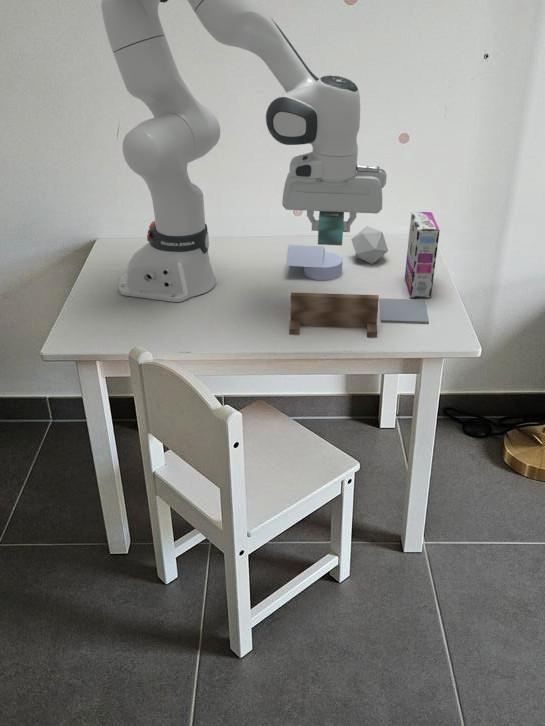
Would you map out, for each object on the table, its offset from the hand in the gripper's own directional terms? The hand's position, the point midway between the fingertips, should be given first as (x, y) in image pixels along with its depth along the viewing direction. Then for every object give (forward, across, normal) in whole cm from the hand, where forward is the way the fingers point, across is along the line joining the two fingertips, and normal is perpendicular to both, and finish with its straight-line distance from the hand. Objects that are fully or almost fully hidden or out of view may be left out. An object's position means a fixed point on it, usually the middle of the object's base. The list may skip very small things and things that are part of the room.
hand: (330, 230), depth 152 cm
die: (+18, -10, -26) cm, 33 cm away
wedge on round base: (+18, +3, -18) cm, 26 cm away
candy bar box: (+18, -21, -11) cm, 29 cm away
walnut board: (+18, -2, +10) cm, 21 cm away
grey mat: (+18, -17, +1) cm, 24 cm away
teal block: (+2, 0, 0) cm, 2 cm away
